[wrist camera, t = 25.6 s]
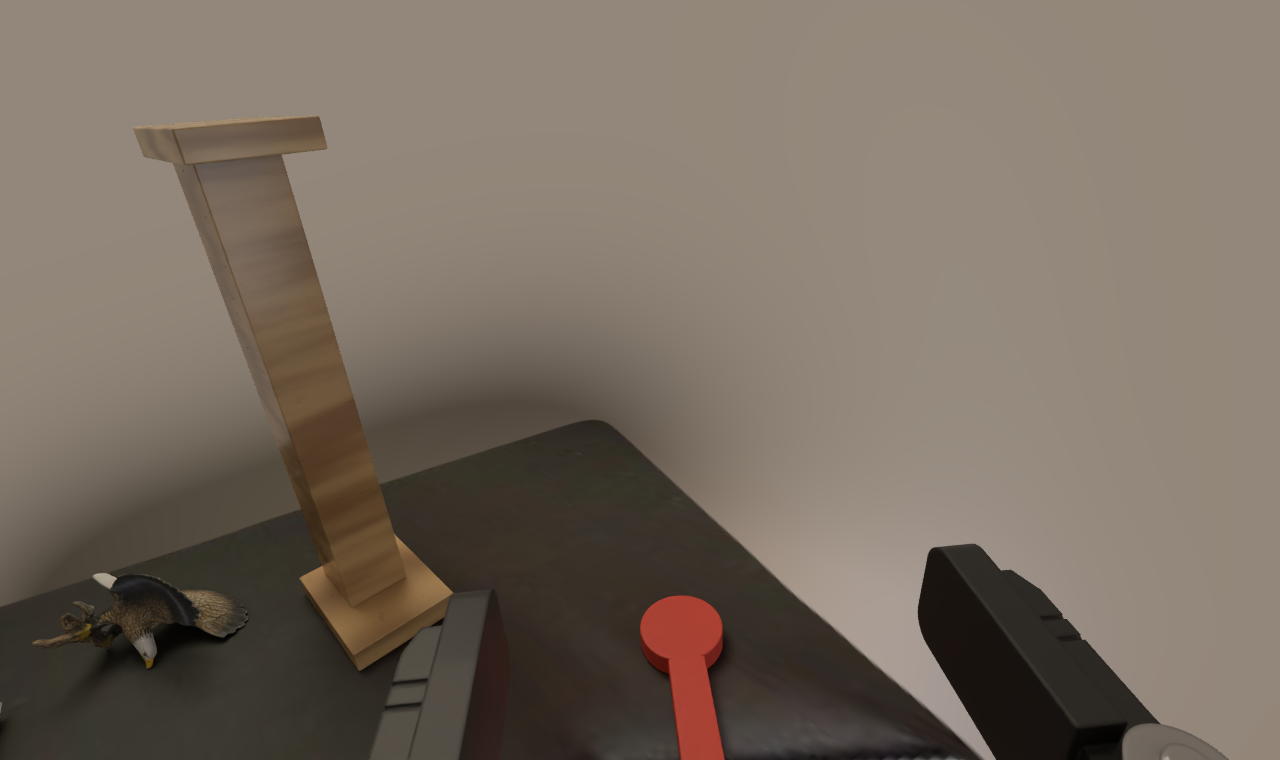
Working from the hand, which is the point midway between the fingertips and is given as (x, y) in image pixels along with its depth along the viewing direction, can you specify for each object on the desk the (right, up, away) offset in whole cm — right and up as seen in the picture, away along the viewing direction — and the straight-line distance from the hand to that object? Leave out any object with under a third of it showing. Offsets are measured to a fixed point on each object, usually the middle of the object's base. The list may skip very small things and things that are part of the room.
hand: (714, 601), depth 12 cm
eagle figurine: (-34, -14, +31) cm, 48 cm away
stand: (-20, -12, +33) cm, 41 cm away
